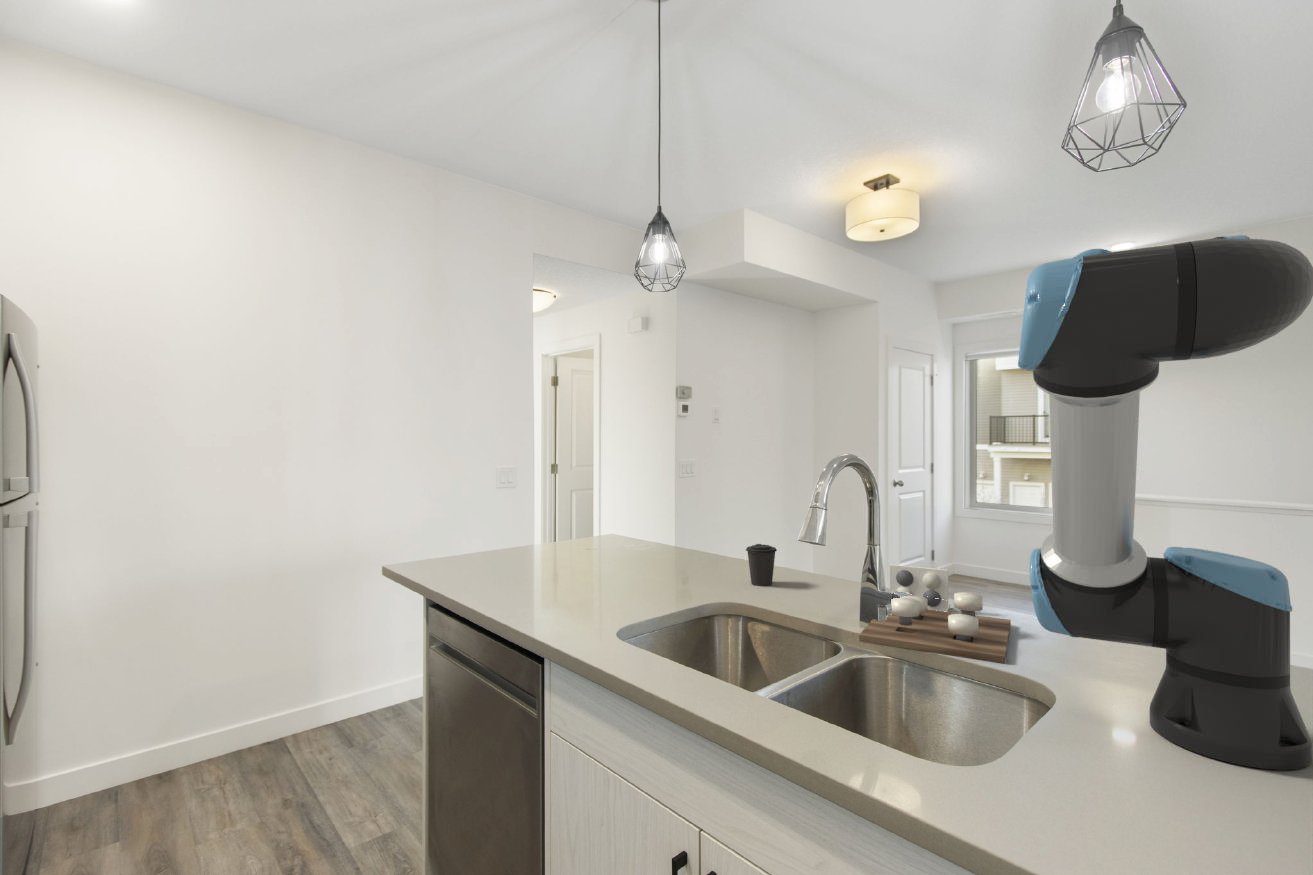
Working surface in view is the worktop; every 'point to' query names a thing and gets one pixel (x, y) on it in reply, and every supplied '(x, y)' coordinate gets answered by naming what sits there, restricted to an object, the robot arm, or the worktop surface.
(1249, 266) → the robot arm
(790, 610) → the worktop surface
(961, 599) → the button
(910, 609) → the button
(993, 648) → the board
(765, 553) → the coffee cup
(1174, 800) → the worktop surface
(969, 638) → the button
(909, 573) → the card
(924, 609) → the button
